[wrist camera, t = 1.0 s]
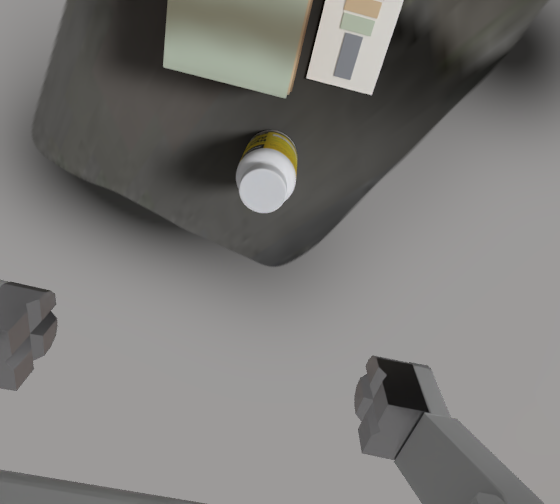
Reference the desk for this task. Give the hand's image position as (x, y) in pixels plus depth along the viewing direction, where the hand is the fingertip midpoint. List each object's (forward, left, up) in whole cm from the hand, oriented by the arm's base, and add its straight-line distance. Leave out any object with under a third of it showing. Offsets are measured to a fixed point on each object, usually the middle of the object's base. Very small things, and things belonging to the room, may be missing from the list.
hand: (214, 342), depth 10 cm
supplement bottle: (+5, 0, -33) cm, 33 cm away
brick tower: (-7, -4, -33) cm, 34 cm away
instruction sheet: (-8, +5, -33) cm, 34 cm away
